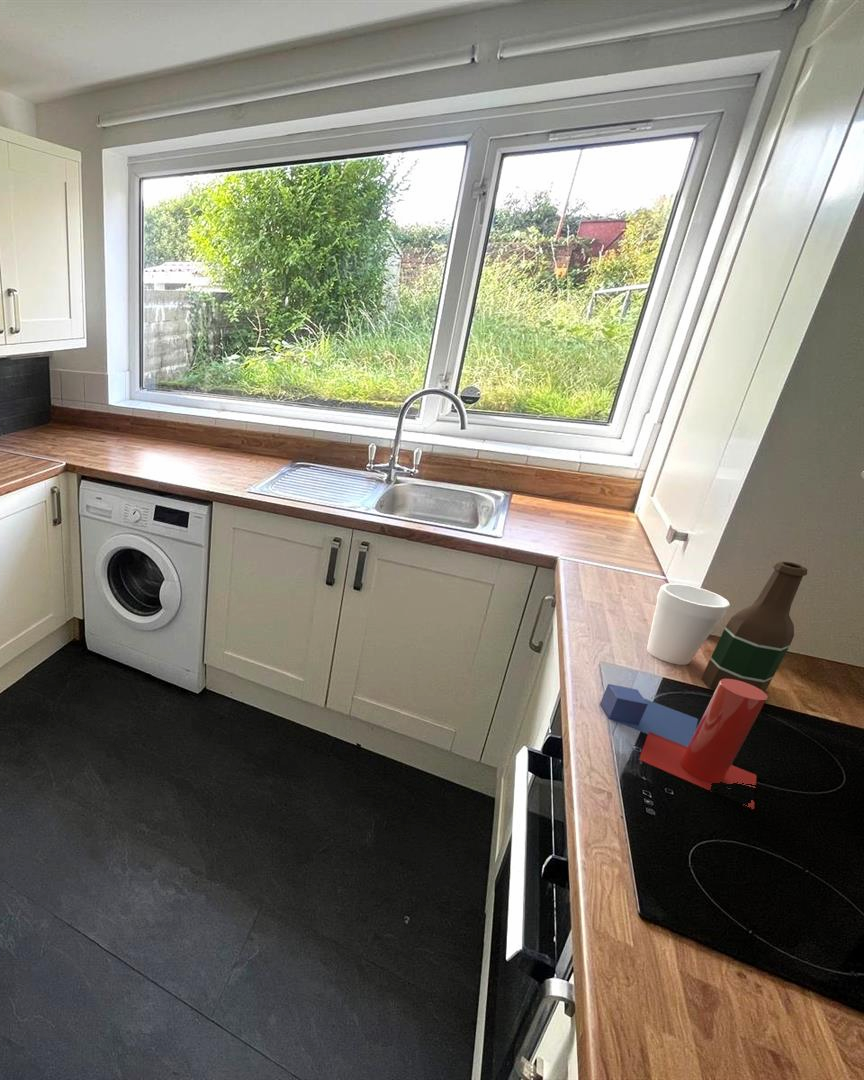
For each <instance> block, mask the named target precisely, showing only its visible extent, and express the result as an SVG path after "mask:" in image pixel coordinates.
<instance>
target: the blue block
mask: <svg viewBox="0 0 864 1080" xmlns="http://www.w3.org/2000/svg"><path fill="white" fill-rule="evenodd" d="M645 699H646V698H645V697H643V696H642V694H641V692H640V690H638V689H636V688H631V687H626V686H621V685H617V684H611V683H608V684H607V685H606V688H605V690H604V693H603V694H602V698H601V700H600V703H599V705H600V706H601V708H602V710H603V712H604V713H605V714H606V716H607V719H609V720H611V719H613V720H612V721H614V720H618V721H623V722H627V723H632V724H637V725H639V723H640V721H641V719H642V716H643V714H644V712H645V710H646V707H647V705H648V704H647V702H646V701H645Z"/></svg>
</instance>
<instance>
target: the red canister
mask: <svg viewBox="0 0 864 1080" xmlns="http://www.w3.org/2000/svg"><path fill="white" fill-rule="evenodd" d="M767 700H768V695H767V693H766V692H765V693H764V692H763V691H762V690H760V689H759V688H757V687H755V686H753V685H750V684H748V683H745V682H742V681H739V680H734V679H722V680H720V682H719V684H718V686H717V688H716V690H715V691H714V692H713V694H712V696H711V698H710V700H709V702H708V704H707V706H706V708H705V711H704V712H703V715H702V716H701V718H700V720H699V721H698V723H697V727H696V730H695V732H694V735H693V737H692V739H691V741H690V743H689V745H688V747H687V749H686V751H685V753H684V755H683V757H682V759H681V761H680V764H681V766H682V767H683V769H685V770H686V771H687V772H688V773H690V774H691V775H693V776H695V777H697V778H699V779H701V780H704V781H707V782H711V783H720V782H722V781H723V780H724V778H725V776H726V774H727V772H728V771H729V769H730V767H731V765H733V763H734V761H735V759H736V758H737V756H738V754H739V753H740V750H741V748H742V746H743V745H744V743H745V741H746V739H747V737H748V735H749V733H750V731H751V730H752V728H753V726H754V724H755V722H756V720H757V719H758V717H759V715H760V713H761V711H762V709H763V707H764V706H765V703H766V702H767Z"/></svg>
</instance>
